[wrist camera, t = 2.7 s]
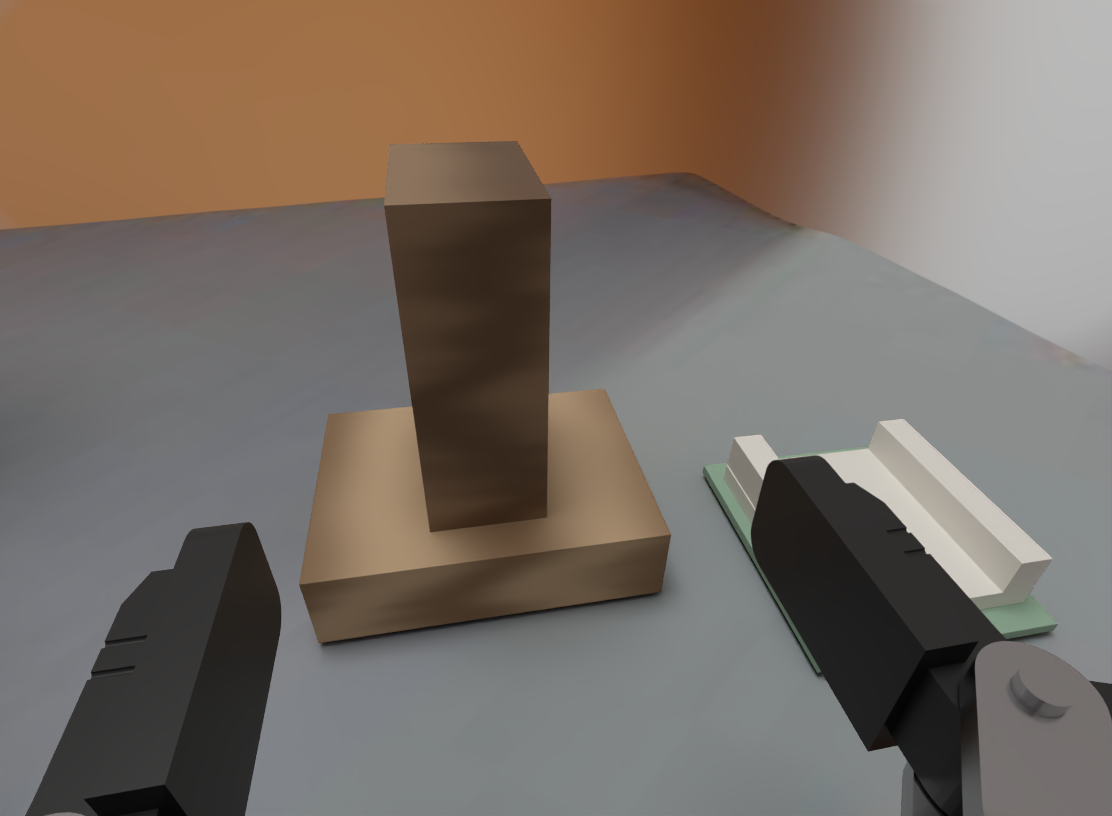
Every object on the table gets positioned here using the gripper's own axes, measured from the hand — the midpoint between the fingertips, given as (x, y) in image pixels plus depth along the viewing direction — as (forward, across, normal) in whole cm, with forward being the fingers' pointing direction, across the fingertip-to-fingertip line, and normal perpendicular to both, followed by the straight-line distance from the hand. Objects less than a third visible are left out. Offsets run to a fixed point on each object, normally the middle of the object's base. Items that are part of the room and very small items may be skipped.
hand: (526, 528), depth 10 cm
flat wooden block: (+12, 0, +11) cm, 16 cm away
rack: (+8, -14, +11) cm, 20 cm away
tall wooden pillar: (+12, 0, +8) cm, 14 cm away
